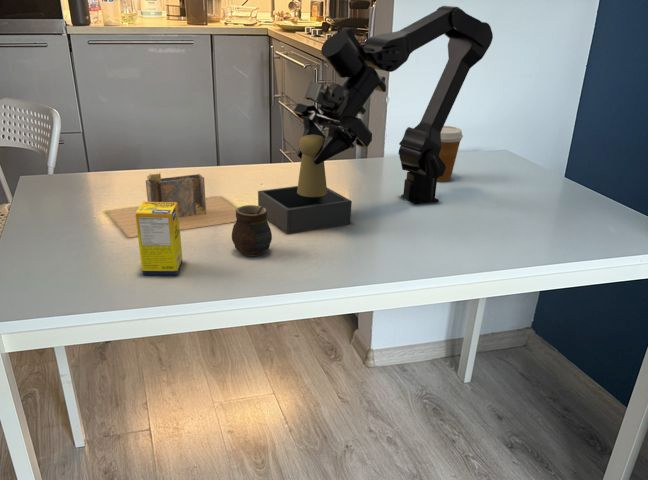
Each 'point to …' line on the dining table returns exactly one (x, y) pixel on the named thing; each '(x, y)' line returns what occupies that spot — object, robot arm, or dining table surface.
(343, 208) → the bin
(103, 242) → the dining table surface
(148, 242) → the supplement box
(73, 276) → the dining table surface
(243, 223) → the mate gourd
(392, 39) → the robot arm
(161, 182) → the architectural model on board
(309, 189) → the tan pawn figure
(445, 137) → the disposable coffee cup
